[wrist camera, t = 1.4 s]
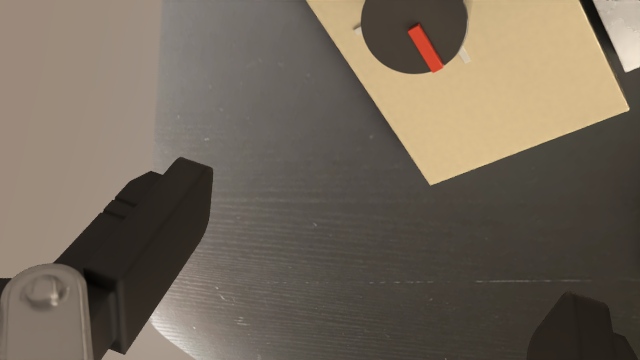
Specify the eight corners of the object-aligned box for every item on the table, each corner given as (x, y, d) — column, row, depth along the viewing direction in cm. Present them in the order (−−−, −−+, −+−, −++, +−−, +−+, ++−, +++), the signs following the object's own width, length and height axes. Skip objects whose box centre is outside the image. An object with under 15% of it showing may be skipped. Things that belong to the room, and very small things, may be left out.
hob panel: (297, -45, 32) (282, -31, 30) (493, -189, 25) (492, -186, 23) (434, 164, 37) (429, 187, 35) (623, 88, 31) (630, 111, 29)
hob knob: (363, -26, 29) (338, 8, 25) (446, -80, 26) (433, -52, 22) (410, 50, 30) (394, 93, 26) (491, 6, 28) (488, 47, 24)
